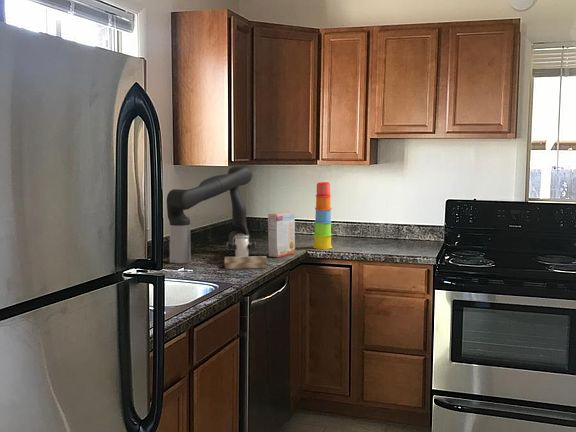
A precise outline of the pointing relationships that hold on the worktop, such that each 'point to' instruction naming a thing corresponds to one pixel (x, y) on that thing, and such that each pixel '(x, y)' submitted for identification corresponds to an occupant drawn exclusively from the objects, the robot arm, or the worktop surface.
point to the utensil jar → (241, 245)
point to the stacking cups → (323, 217)
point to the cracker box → (281, 234)
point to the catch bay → (246, 262)
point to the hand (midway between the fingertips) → (242, 247)
